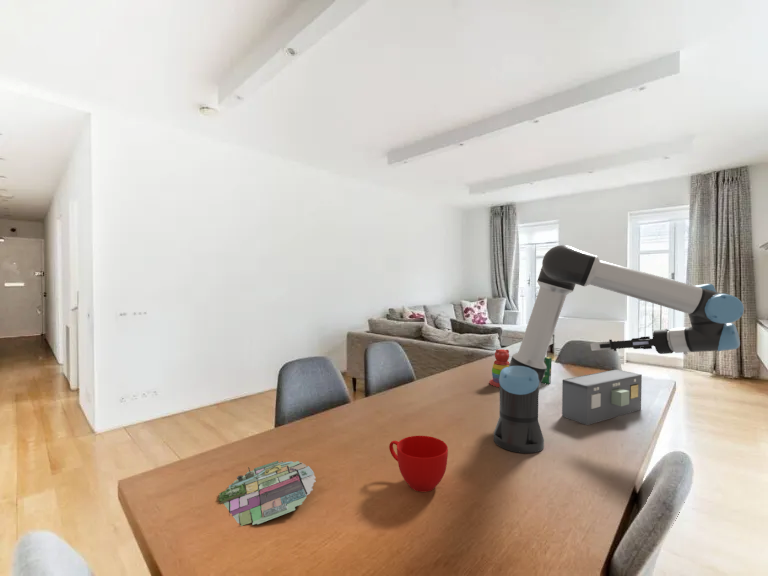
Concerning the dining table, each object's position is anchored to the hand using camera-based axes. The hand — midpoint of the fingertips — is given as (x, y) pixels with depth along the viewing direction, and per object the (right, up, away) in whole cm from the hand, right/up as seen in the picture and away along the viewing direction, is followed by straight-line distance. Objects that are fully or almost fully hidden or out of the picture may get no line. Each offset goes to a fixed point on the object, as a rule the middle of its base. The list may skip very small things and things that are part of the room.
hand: (591, 346), depth 135 cm
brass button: (+23, -22, +16) cm, 35 cm away
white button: (+1, -22, +5) cm, 23 cm away
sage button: (+14, -22, +7) cm, 27 cm away
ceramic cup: (-66, -30, -37) cm, 81 cm away
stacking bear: (-17, -27, +50) cm, 59 cm away
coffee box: (+6, -27, +55) cm, 61 cm away
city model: (-103, -30, -43) cm, 115 cm away
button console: (+11, -28, +12) cm, 32 cm away
